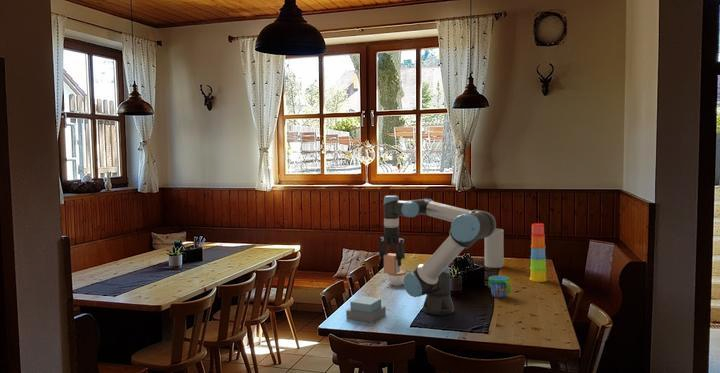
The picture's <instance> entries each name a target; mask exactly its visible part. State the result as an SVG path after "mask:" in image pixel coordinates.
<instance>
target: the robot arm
mask: <svg viewBox="0 0 720 373" xmlns="http://www.w3.org/2000/svg"><path fill="white" fill-rule="evenodd" d="M420 215H424V216H427V217H428V216H429V217H432V218H435V219H440V220H443V221H446V222H450V230H449V236H448V237H447V238H446V239H445V240H444V241H443V242H442V243H441V245H440V246H439V247H438V248H437V249H436V250H435V252H433V254H432V255H431V256H429V258H428V259H427V260H426V262H425V263H421V264H418V265H417V267H416V268H415V269H414V270H413V271H412V272H408V273H406V274H405V277H404V282H403V287H404V291H406V293H407V294H408V295H409V296H411V297H413V298H418V297H421V296H424V295H426V296H425V299H424V303H423V306H422V310H423V312H424V313H425V314H429V315H434V316H444V315H446V316H447V315H451V314H453V313H454V311H455V305H454V303H453V300H452V297H451V268H450V267H449V265H451V264H452V263H453V261H454V260H455V259H456V258H457V257H458V256H459V255H460V254H461V253H462V252H463V250H464V249H469V248H471V247H472V246H473V245H474V244H475V243H476V242H477V241H478V240H479V239H485V237H488V236H490V235H491V234H492V233H493V232H494V231H495V229H497V222H496V218H495V217H494V215H493V214H491V213H490V212H488V211H485V210H479V209H473V210H470V209H467V208H466V209H465V208H461V207H457V206H453V205H449V204H444V203H441V202H437V201H435V200H433V199H431V198H421V199H411V200H410V199H409V200H400V198H399V196H398V195H384V198H383V226H384V227H383V233H384V234H383V236H381V237H378V241H379V249H378V256H379V258H382V265H384V255H386V254H388V252H389V248H390V246H392V247H393V249H394V252H395V253H394V254H396V256H397V260H396V273H398V272H400V270H401V266H402V259H405V256H406V255H405V241H406V240H405V238H400V227H399V225H400V224H399V223H400V217H406V218H415V217H416V216H420ZM384 241H385V242H384Z"/></svg>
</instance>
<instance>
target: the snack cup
mask: <svg viewBox="0 0 720 373" xmlns="http://www.w3.org/2000/svg"><path fill="white" fill-rule="evenodd" d="M487 286H488V288H490V290H491V296H492V297H494V298H505V297H507V294H510V293H511V285H510V278H509V277H508V276H506V275H505V276H504V275H491V276H489V277H488V281H487Z"/></svg>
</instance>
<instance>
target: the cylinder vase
mask: <svg viewBox="0 0 720 373" xmlns="http://www.w3.org/2000/svg"><path fill="white" fill-rule="evenodd" d="M504 232H505V231H504V229H502V228H495V231H494V232H493V233H492V234H491V235H490V236H488V237H485V238H484V267H486V268H488V269H501V268H503V267H504V265H505V264H504V263H505V262H504V261H505V260H504V259H505V258H504V250H505V249H504V246H505V245H504V240H505V239H504V237H505V236H504Z"/></svg>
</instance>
